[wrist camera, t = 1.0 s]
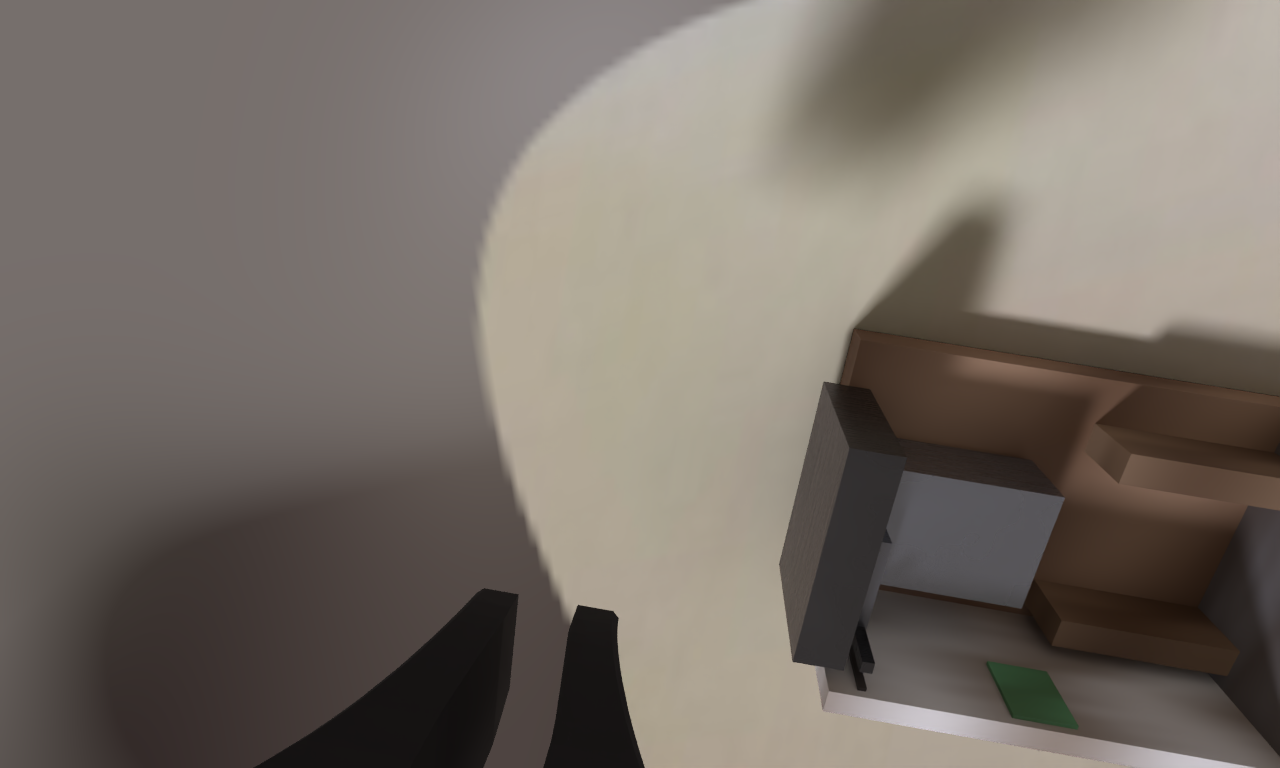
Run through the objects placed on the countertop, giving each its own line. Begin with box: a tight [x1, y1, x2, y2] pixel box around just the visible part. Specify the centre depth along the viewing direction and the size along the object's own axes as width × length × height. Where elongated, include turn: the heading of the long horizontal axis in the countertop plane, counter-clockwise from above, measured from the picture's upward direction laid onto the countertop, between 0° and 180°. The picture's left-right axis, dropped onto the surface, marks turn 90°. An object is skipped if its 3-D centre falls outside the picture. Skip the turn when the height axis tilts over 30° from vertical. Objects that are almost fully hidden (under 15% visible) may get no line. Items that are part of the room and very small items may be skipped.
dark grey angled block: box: [779, 382, 1065, 674], centre depth 18 cm, size 6×6×4 cm
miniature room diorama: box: [815, 329, 1280, 768], centre depth 18 cm, size 12×8×6 cm
